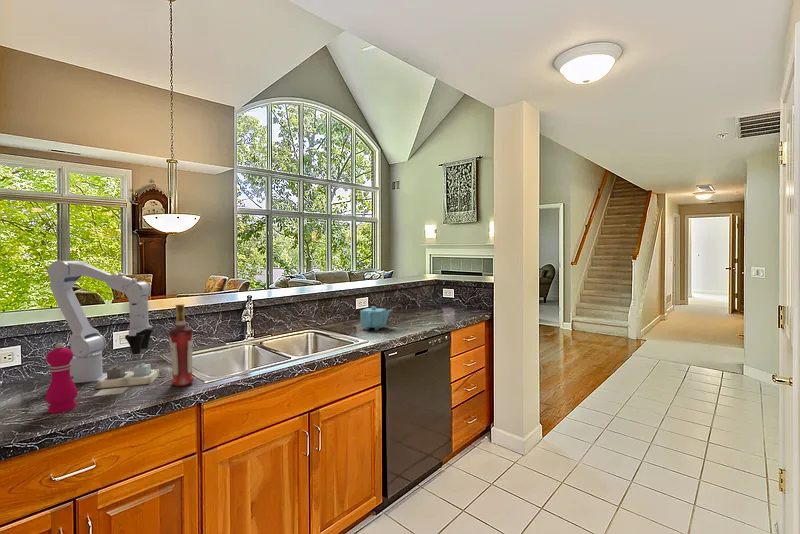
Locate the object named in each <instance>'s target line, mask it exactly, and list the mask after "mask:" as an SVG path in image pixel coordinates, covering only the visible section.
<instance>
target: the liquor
mask: <svg viewBox="0 0 800 534" xmlns="http://www.w3.org/2000/svg"><path fill="white" fill-rule="evenodd" d="M185 309H186V308H185V304H183V303H181V304H180V303H179V304H175V312H176V319H175V327H173V328H172V329H171V330H169V332H168V337H169V338H168V339H169V341H168V342H169V350H170V351H169V352H170V358H171V359H170V361H171V372H172V373H171V375H172V381H171V382H170V383H171V384H172V385H174V386H175V387H178V388H182V387H186V386H189V385H190V384H192V382H193V381H194V380H195V378H194V377H193V350H194V349H193V345H194V343H193V341H194V340H193V339H194V335H193V333H194V330H193V329H192V328H191V327H189V326H186V325H187V324H186V320H185Z"/></svg>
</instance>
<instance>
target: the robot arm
mask: <svg viewBox="0 0 800 534" xmlns="http://www.w3.org/2000/svg"><path fill="white" fill-rule="evenodd" d="M46 274H47V275H48V278H49V280H50V281H49V283H50V286H49V287H50V290H51V291H50V292H52V294H53V296H54V299H55V301H56V302H57V305H58V307H59V309H60V310H61V313H62V314H63V316H64V319H65V321H66V322H67V325H68V327H69V328H70V331H71V332H72V334H71V336H70V337H69V339H68V341H69V344H70V350H71V351H72V352H73V359H72V360H71V361H70V363H72V364H71V366H72V367H71V368H70V376H71V379H72V381H73V382H74V384H76V383H88V382H98V381H99V380H100V379H102V378H103V377H105V376H106V375H107V372H103V352H104V351H103V349H104V348H105V347H106V345H107V340H106V337H105V336H103V335H102V334H101V333H100V332H99V329H96V328H95V327H93V326H91V324H90V321H89V319H88V317H87V316H86V313H85V312H84V310H83V307H82V306H81V303H80V301H79V299H78V298H77V295H76V293H75V291H74V290H73V287H74V285H75V284H76V283H77V282H78V281H79V280H80V279H81V278H82V277H83V276H85V277H89V278H91V279H95V280H97V281H101V282H103V283H106V286H107V287H108V288H109V289H112V290H115V291H118V292H120V293H123V294H125V296H126V297H127V299H128V305H129V308H128V309H129V330H128V334H126V335H124V338H125V340H126V341H127V343H128V345H129V347H130V350H131V353H132V355H140V354H141V352H142V351H141V350H147V349H148V347H149V344H150V343H149V342H150V339H151V336H152V334H153V332H154V328H153V325H150V322H149V298H148V297H149V295H150V293H151V291H152V288H151V285H150V284H149V283H148V282H146V281H145V280H140V281H138V279H137V278H135V277H133V278H131V277H130V276H129V277H127V276H126V275H125V273H123V272H115V273H112V274H111V273H109V272H107V271H105V270H102V269H100V268H98V267H96V266H94V265H91V264H89V262H86V261H82V260H79V259H74V260H54V261H53V262H51V264H50V265H49V267H48V269H47V270H46Z"/></svg>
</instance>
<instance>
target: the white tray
mask: <svg viewBox="0 0 800 534" xmlns="http://www.w3.org/2000/svg"><path fill="white" fill-rule="evenodd" d="M125 367H126V366H125V365H120V364H116V365H114V366H111V367H109V368H108V369H107V370H106V373H107V375H106V376H104V377H103V378H102V379H100V380H99V381H96V389H105V388H106V389H108V388H114V387H115V388H118V387H122V386H123V387H129V386H136V385H138V386H139V385H146V384H148V385H149V384H152V382H154V381H155V380H156V379H157V378H158V376H160V369H159V368H156V369H151V374H150V375H149V376H140V377H134V370H133V371H131V370H130V371H129V370H128V371H126V368H125Z"/></svg>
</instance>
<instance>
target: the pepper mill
mask: <svg viewBox="0 0 800 534" xmlns="http://www.w3.org/2000/svg"><path fill="white" fill-rule="evenodd" d="M73 356H74V354H73V352H72V351H71V348H68V347H64V343H62V342H58V343H56V344H55V348H53V349H52V350H50V351H48V353H47V355H46V362H47V364H49V365H50V366H48V368H49V369H48V370H49V372H51V378H50V379H51V380H50V384H49V385H48V388H47V390H46V394H45V401H46V402H47V403H48V404H49V405H48V410H47V411H48V413H49V414H60V413H64V412H68V411H71V410H74V409H75V408H76V407H77V400H75V399H76V398H77V397H78V393H79V392H78V388H77V385H76V383H74V382H73V381H72V379H71V376H70V368H71V367H72V366H71V364H72V363H70V361H71V360H72V359H73Z"/></svg>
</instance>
